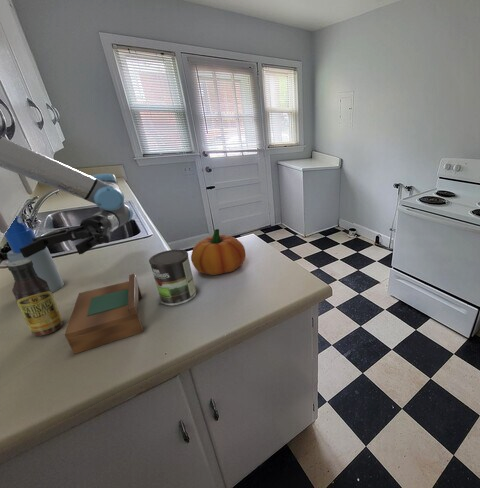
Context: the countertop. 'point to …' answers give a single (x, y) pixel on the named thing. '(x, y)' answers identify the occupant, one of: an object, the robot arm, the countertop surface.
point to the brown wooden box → (104, 316)
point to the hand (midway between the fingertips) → (51, 251)
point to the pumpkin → (218, 254)
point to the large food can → (173, 276)
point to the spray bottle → (41, 260)
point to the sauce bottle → (34, 299)
